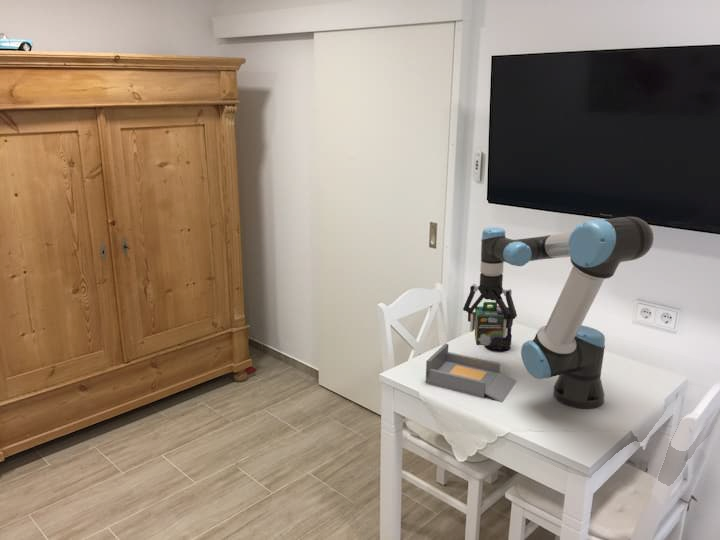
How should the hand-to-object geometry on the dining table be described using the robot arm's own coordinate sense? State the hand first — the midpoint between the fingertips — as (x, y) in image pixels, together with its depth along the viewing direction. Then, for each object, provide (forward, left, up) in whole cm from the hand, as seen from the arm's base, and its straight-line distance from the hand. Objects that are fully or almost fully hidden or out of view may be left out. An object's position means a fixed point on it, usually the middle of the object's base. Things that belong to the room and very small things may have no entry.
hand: (488, 333), depth 206 cm
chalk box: (0, 0, -3) cm, 3 cm away
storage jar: (+1, -17, -12) cm, 21 cm away
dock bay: (0, +15, -13) cm, 19 cm away
